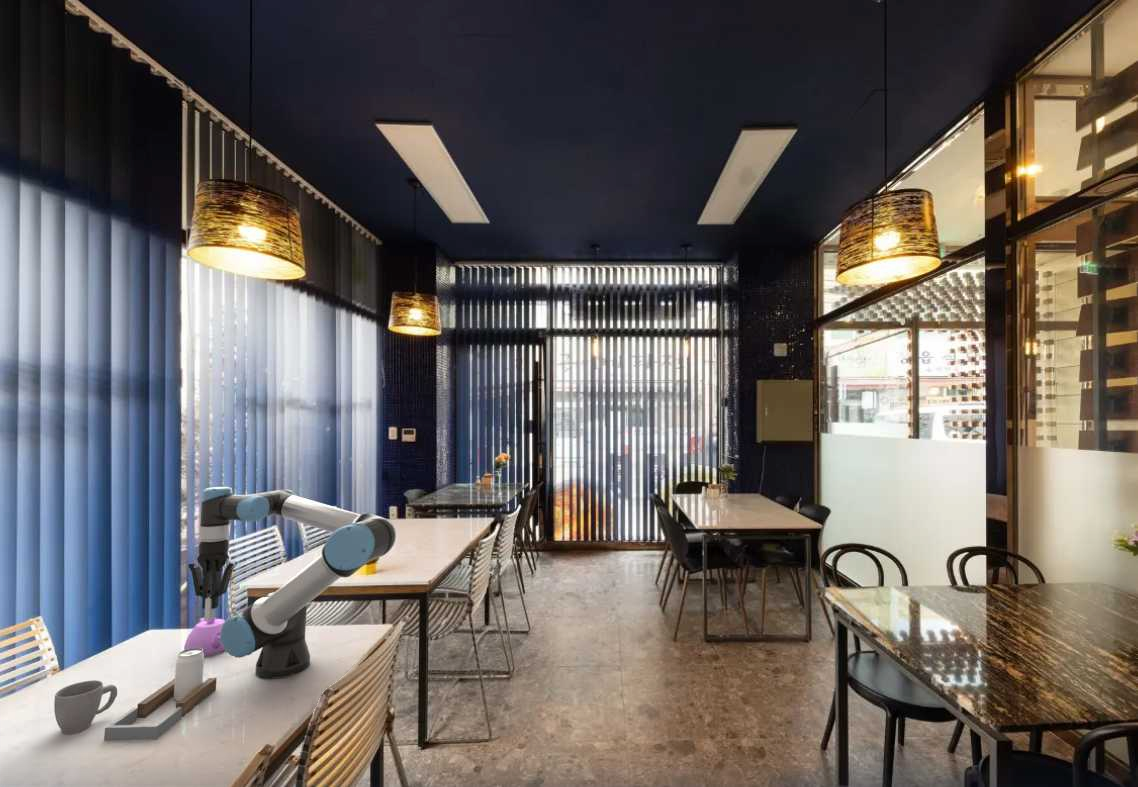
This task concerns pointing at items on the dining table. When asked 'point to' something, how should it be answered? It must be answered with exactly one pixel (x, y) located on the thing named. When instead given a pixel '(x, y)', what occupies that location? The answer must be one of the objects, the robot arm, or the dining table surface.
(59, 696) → the mug
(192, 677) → the can
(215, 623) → the teapot
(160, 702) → the chute
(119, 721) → the bay
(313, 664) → the dining table surface
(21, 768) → the dining table surface
